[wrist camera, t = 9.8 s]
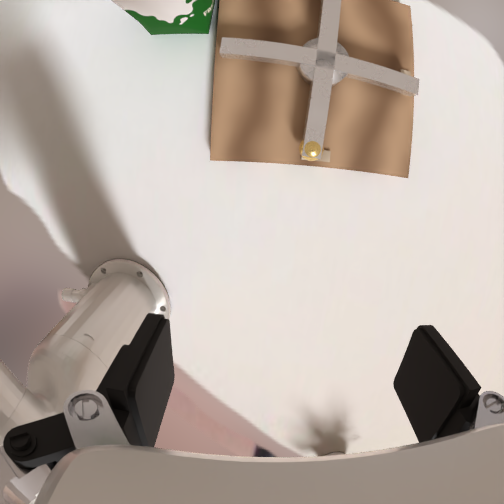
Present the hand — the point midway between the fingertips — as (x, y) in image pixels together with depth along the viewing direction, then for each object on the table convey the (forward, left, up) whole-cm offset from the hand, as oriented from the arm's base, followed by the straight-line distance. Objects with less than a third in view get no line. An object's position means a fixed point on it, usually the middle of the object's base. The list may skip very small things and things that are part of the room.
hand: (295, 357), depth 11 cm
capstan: (+4, +16, -24) cm, 29 cm away
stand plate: (+4, +16, -26) cm, 31 cm away
